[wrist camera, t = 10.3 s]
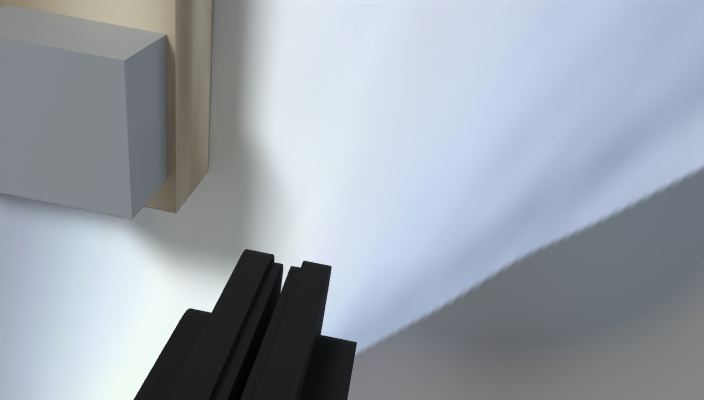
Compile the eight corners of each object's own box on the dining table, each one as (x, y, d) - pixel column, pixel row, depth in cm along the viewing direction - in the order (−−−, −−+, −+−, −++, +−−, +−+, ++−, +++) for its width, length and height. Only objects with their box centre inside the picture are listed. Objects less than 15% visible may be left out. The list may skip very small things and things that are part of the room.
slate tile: (166, 34, 16) (123, 60, 14) (168, 177, 18) (131, 219, 16) (8, 4, 16) (-58, 26, 14) (29, 150, 19) (-25, 188, 16)
